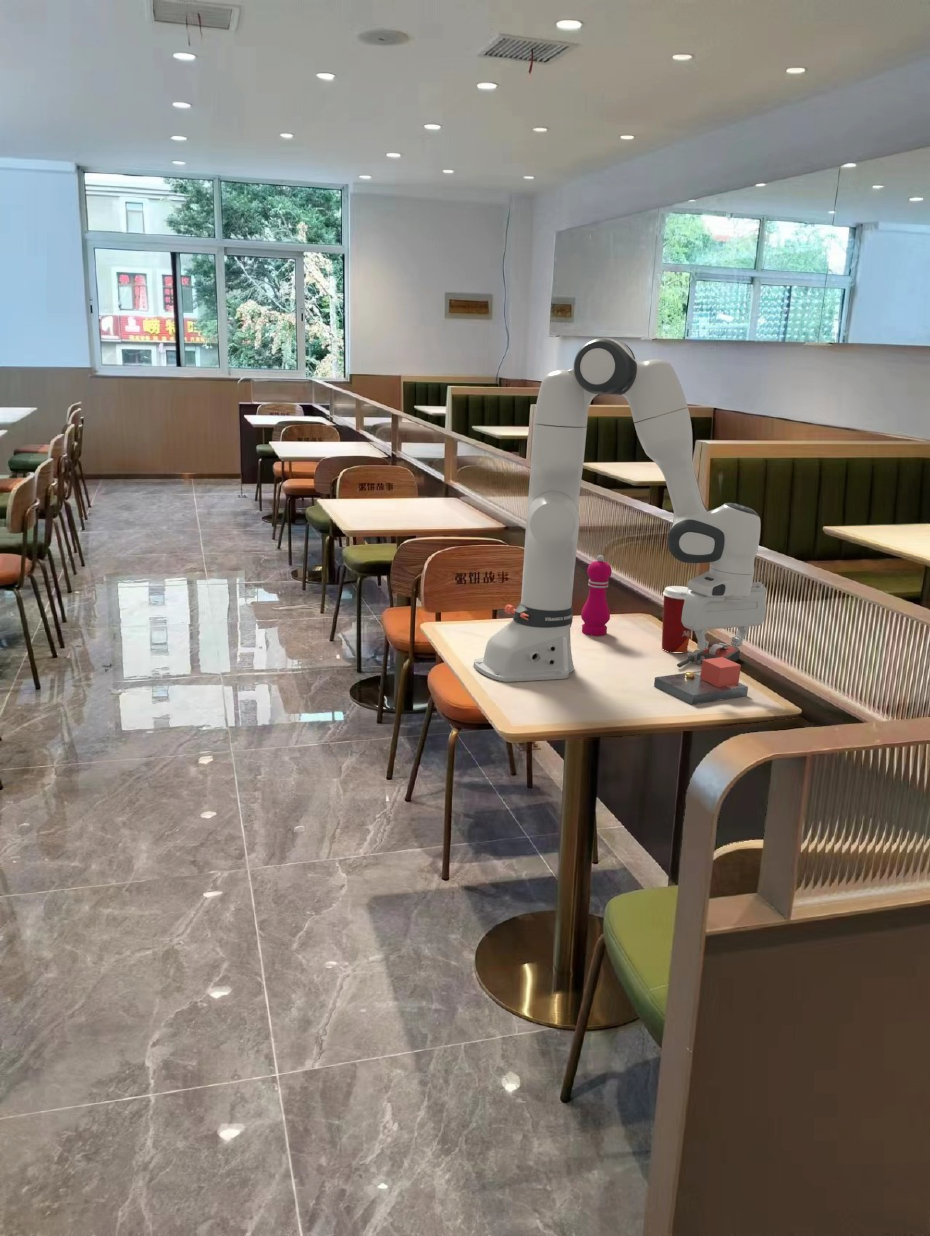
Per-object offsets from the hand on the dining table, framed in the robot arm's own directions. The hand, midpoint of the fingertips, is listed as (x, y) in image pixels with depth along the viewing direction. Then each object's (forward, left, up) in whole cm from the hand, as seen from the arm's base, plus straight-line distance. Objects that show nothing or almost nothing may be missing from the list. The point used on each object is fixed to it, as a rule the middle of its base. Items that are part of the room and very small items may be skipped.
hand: (719, 647), depth 201 cm
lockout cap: (+1, -1, -7) cm, 7 cm away
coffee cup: (+12, +27, -10) cm, 31 cm away
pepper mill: (+2, +46, -10) cm, 47 cm away
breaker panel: (-3, +1, -10) cm, 10 cm away
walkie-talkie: (+12, +15, -10) cm, 22 cm away
